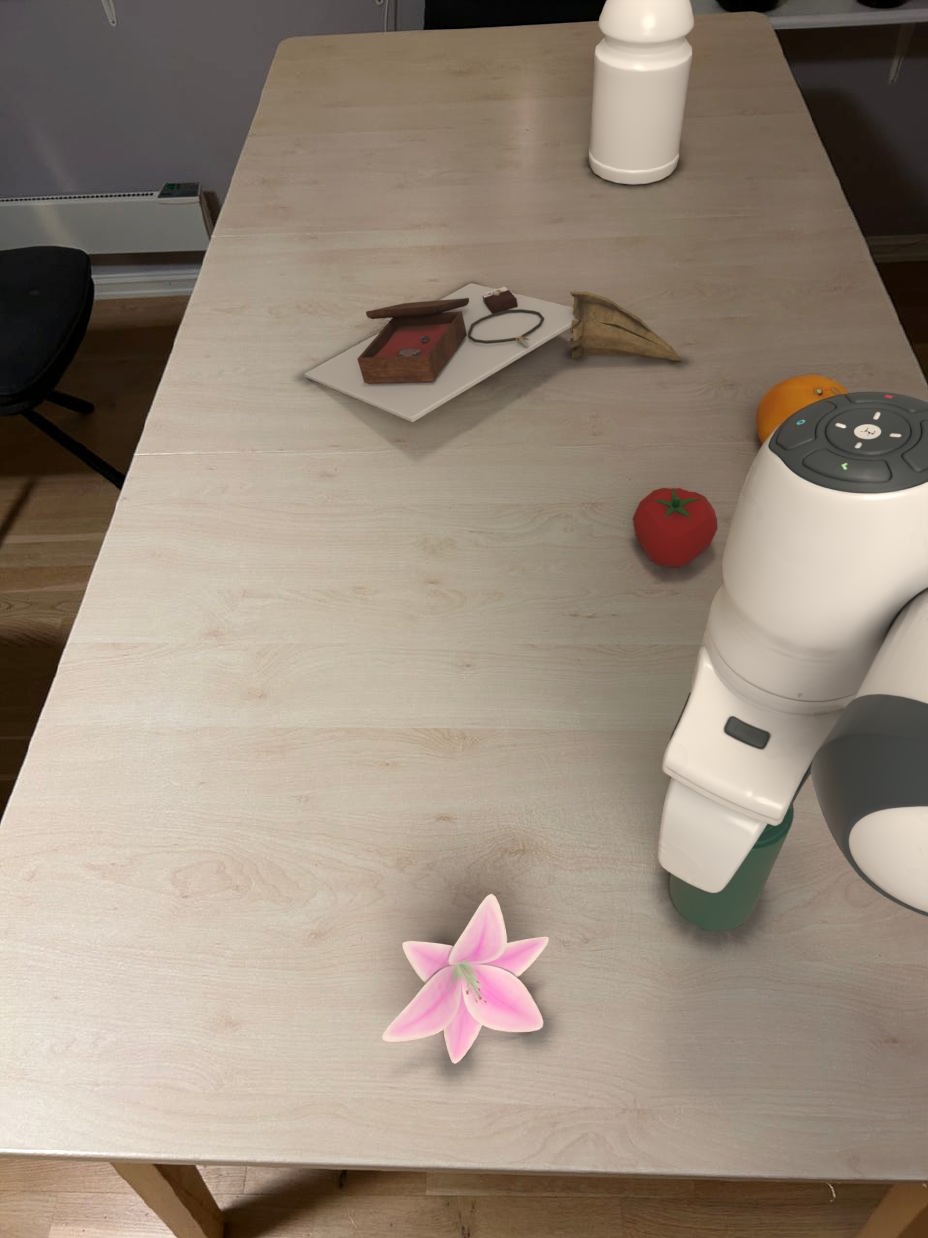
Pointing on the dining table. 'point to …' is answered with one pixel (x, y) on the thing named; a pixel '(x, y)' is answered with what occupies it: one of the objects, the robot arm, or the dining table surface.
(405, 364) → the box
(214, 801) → the dining table surface
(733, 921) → the bottle
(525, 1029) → the lily
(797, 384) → the fruit
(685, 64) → the bottle
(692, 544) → the tomato
